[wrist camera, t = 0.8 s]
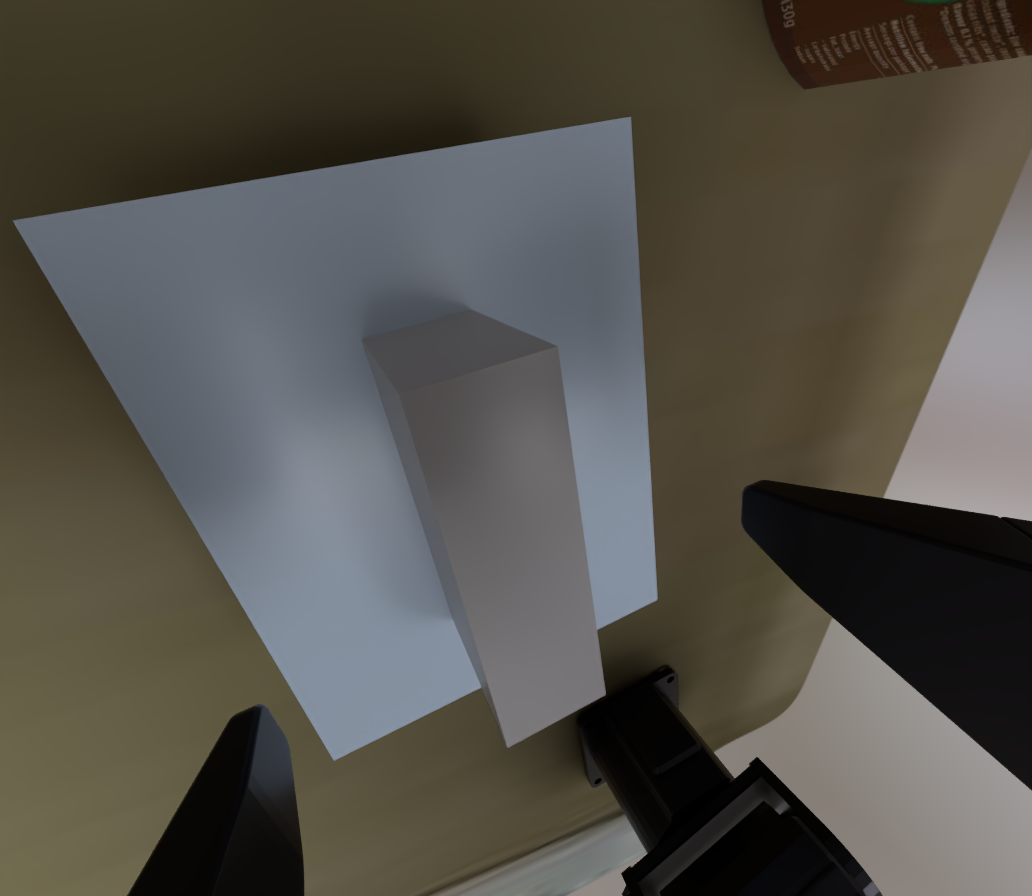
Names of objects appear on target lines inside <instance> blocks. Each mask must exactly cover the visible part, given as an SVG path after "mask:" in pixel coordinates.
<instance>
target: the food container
mask: <svg viewBox="0 0 1032 896" xmlns="http://www.w3.org/2000/svg"><path fill="white" fill-rule="evenodd" d="M762 3H763V8H764V14H765V18H766V22H767V25H768V28H769V32H770V35H771V38H772V41H773V43H774V46H775V48H776V50H777V52H778V54H779V57H780V59H781V61H782V62H783V64H784V65H785V67H786V68H787V70H788V71H789V73H790V74H791V76H792V77H793V78H794V79H795V80H796V81H797V82H798V83H799V84H800V85H801V86H802V87H803V88H804V89H810V88H817V87H824V86H830V85H837V84H844V83H850V82H857V81H864V80H870V79H877V78H884V77H890V76H897V75H904V74H910V73H917V72H924V71H930V70H937V69H944V68H950V67H957V66H964V65H970V64H977V63H984V62H990V61H997V60H1004V59H1010V58H1017V57H1024V56H1030V55H1032V0H762Z"/></svg>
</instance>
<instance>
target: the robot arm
mask: <svg viewBox="0 0 1032 896" xmlns="http://www.w3.org/2000/svg"><path fill="white" fill-rule="evenodd" d="M741 523H742V526H743V528H744V530H745V531H746V533H747V534H748V535H749V536H750V537H751V538H752V539H753V540H754V541H755V542H756V543H757V544H758V545H759V546H760V547H761V549H762V550H763V551H764V552H765V553H766V554H767V555H768V556H769V557H770V558H771V559H772V560H773V561H774V562H775V563H776V564H777V565H778V566H779V567H780V568H781V569H782V570H783V571H784V572H785V573H786V575H787V576H788V577H789V578H790V579H791V580H792V581H793V582H794V583H795V584H796V585H797V586H798V587H799V588H800V589H801V590H802V591H803V592H805V593H806V594H807V595H808V596H809V597H810V598H811V599H812V600H813V601H815V602H816V603H817V604H818V605H819V606H820V607H821V608H823V609H824V610H825V611H826V612H827V613H828V614H829V615H831V616H832V617H833V618H834V619H835V620H836V621H838V622H839V623H840V624H841V625H842V626H843V627H844V628H846V629H847V630H848V631H849V632H850V633H851V634H853V635H854V636H855V637H856V638H857V639H858V640H859V641H861V642H862V643H863V644H864V645H865V646H866V647H867V648H869V649H870V650H871V651H872V652H873V653H874V654H876V655H877V656H878V657H879V658H880V659H881V660H882V661H884V662H885V663H886V664H887V665H888V666H889V667H890V668H892V669H893V670H894V671H895V672H896V673H897V674H898V675H900V676H901V677H902V678H903V679H904V680H905V681H907V682H908V683H909V684H910V685H911V686H912V687H914V688H915V689H916V690H917V691H918V692H919V693H920V694H921V695H923V696H924V697H925V698H926V699H927V700H928V701H929V702H931V703H932V704H933V705H934V706H935V707H936V708H938V709H939V710H940V711H941V712H942V713H943V714H944V715H946V716H947V717H948V718H949V719H950V720H951V721H953V722H954V723H955V724H956V725H957V726H958V727H959V728H960V729H962V730H963V731H964V732H965V733H966V734H968V735H969V736H970V737H971V738H972V739H973V740H974V741H976V742H977V743H978V744H979V745H980V746H981V747H983V749H985V750H986V751H987V752H988V753H989V754H990V755H992V756H993V757H994V758H995V759H996V760H997V761H999V762H1000V763H1001V764H1002V765H1003V766H1004V767H1005V768H1007V769H1008V770H1009V771H1010V772H1011V773H1012V774H1013V775H1015V776H1016V777H1017V778H1018V779H1019V780H1020V781H1021V782H1023V783H1024V784H1025V785H1026V786H1027V787H1028V788H1029V789H1031V790H1032V521H1027V520H1020V519H1014V518H1008V517H1001V518H999V517H998V516H994V515H988V514H981V513H975V512H968V511H962V510H956V509H948V508H943V507H936V506H930V505H923V504H917V503H910V502H904V501H897V500H890V499H885V498H878V497H872V496H865V495H859V494H853V493H846V492H840V491H833V490H827V489H820V488H814V487H808V486H801V485H795V484H788V483H782V482H775V481H769V480H760V481H757V482H755V483H753V484H751V485H748V486H746V487H745V488H744V490H743V492H742V508H741ZM577 727H578V732H579V737H580V743H581V748H582V753H583V758H584V764H585V769H586V774H587V779H588V781H589V783H590V785H591V787H593V788H594V787H597V786H599V785H601V784H603V783H604V782H606V783H607V784H608V786H609V788H610V789H611V791H612V793H613V795H614V796H615V798H616V800H617V802H618V803H619V805H620V807H621V808H622V810H623V812H624V814H625V815H626V817H627V819H628V821H629V822H630V824H631V826H632V827H633V829H634V831H635V833H636V834H637V836H638V838H639V840H640V841H641V843H642V845H643V847H644V848H645V850H646V852H647V853H648V854H647V855H646V856H644V857H643V858H642V859H641V860H640V861H639V862H637V863H636V864H635V865H634V866H633V867H631V866H629V867H628V868H627V869H626V870H625V871H624V872H622V873H621V874H622V876H623V879H624V881H625V883H626V887H625V889H624V891H623V893H622V895H623V896H882V894H881V892H880V891H879V889H878V888H877V886H876V885H875V884H874V882H873V881H872V880H871V878H870V877H869V876H868V874H867V873H866V872H865V870H864V869H863V868H862V867H861V865H860V864H859V863H858V862H857V861H856V859H855V858H854V857H853V856H852V855H851V853H850V852H849V851H848V850H847V849H846V848H845V846H844V845H843V844H842V843H841V842H840V841H839V840H838V839H837V838H836V836H835V835H834V834H833V833H832V832H831V831H830V830H829V829H828V828H827V827H826V826H825V825H824V824H823V823H822V822H821V821H820V820H819V819H818V818H817V817H816V816H815V815H814V814H813V813H812V812H811V811H810V810H809V809H808V808H807V807H806V806H805V805H804V804H803V803H802V802H801V801H800V800H799V799H798V798H797V797H796V796H795V795H794V794H793V793H792V791H790V790H789V788H787V786H786V785H785V784H784V783H782V781H781V780H780V779H779V778H778V777H777V776H776V775H775V774H774V773H773V772H772V771H771V770H770V769H769V768H768V767H767V766H766V765H765V764H764V763H763V762H762V761H761V760H760V759H759V758H758V757H756V758H755V759H754V760H753V761H752V762H751V763H749V765H750V766H749V767H748V768H747V769H746V770H745V771H743V772H742V773H741V774H740V775H739V776H738V777H736V778H734V777H733V776H732V774H731V773H730V772H729V771H728V770H727V768H726V767H725V766H724V765H723V764H722V762H721V761H720V760H719V758H718V757H717V756H716V755H715V754H714V752H713V751H712V750H711V749H710V747H709V746H708V745H707V744H706V743H705V741H704V740H703V739H702V738H701V736H700V735H699V734H698V733H697V732H696V730H695V729H694V728H693V727H692V725H691V724H690V723H689V722H688V721H687V719H686V718H685V717H684V716H683V714H682V713H681V712H680V711H679V703H678V675H677V673H676V672H675V671H674V670H673V669H672V668H666V669H664V670H663V671H661V672H659V673H657V674H655V675H653V676H652V677H650V678H648V679H646V680H644V681H642V682H641V683H639V684H637V685H635V686H633V687H631V688H630V689H628V690H626V691H624V692H622V693H621V694H619V695H617V696H615V697H613V698H611V699H610V700H608V701H606V702H604V703H602V704H600V705H599V706H597V707H595V708H593V709H591V710H589V711H588V712H586V713H584V714H583V715H581V716H580V717H579V718H578V720H577ZM127 896H304V864H303V852H302V842H301V834H300V826H299V818H298V810H297V802H296V794H295V787H294V779H293V771H292V763H291V755H290V749H289V744H288V741H287V739H286V736H285V735H284V733H283V731H282V730H281V728H280V727H279V725H278V724H277V722H276V720H275V719H274V717H273V716H272V714H271V713H270V711H269V710H268V708H267V707H266V706H265V705H263V704H258V705H255V706H253V707H251V708H248V709H246V710H244V711H242V712H239V713H237V714H235V715H234V716H233V717H232V718H231V719H230V720H229V722H228V723H227V725H226V727H225V728H224V730H223V732H222V734H221V735H220V737H219V739H218V740H217V742H216V744H215V746H214V747H213V749H212V751H211V752H210V754H209V756H208V758H207V759H206V761H205V763H204V765H203V766H202V768H201V770H200V771H199V773H198V775H197V777H196V778H195V780H194V782H193V783H192V785H191V787H190V789H189V790H188V792H187V794H186V795H185V797H184V799H183V801H182V802H181V804H180V806H179V807H178V809H177V811H176V813H175V814H174V816H173V818H172V819H171V821H170V823H169V825H168V826H167V828H166V830H165V832H164V833H163V835H162V837H161V838H160V840H159V842H158V844H157V845H156V847H155V849H154V850H153V852H152V854H151V856H150V857H149V859H148V861H147V862H146V864H145V866H144V868H143V869H142V871H141V873H140V874H139V876H138V878H137V880H136V881H135V883H134V885H133V887H132V888H131V890H130V892H129V893H128V895H127Z"/></svg>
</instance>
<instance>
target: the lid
mask: <svg viewBox="0 0 1032 896" xmlns="http://www.w3.org/2000/svg"><path fill="white" fill-rule="evenodd" d="M13 222H14V224H15V226H16V228H17V229H18V231H19V233H20V234H21V236H22V238H23V239H24V241H25V243H26V244H27V246H28V248H29V249H30V251H31V253H32V254H33V256H34V258H35V259H36V261H37V263H38V264H39V266H40V268H41V270H42V271H43V273H44V275H45V276H46V278H47V280H48V281H49V283H50V285H51V286H52V288H53V290H54V291H55V293H56V295H57V296H58V298H59V300H60V301H61V303H62V305H63V306H64V308H65V310H66V311H67V313H68V315H69V317H70V318H71V320H72V322H73V323H74V325H75V327H76V328H77V330H78V332H79V333H80V335H81V337H82V338H83V340H84V342H85V343H86V345H87V347H88V348H89V350H90V352H91V353H92V355H93V357H94V359H95V360H96V362H97V364H98V365H99V367H100V369H101V370H102V372H103V374H104V375H105V377H106V379H107V380H108V382H109V384H110V385H111V387H112V389H113V390H114V392H115V394H116V395H117V397H118V399H119V401H120V402H121V404H122V406H123V407H124V409H125V411H126V412H127V414H128V416H129V417H130V419H131V421H132V422H133V424H134V426H135V427H136V429H137V431H138V432H139V434H140V436H141V437H142V439H143V441H144V443H145V444H146V446H147V448H148V449H149V451H150V453H151V454H152V456H153V458H154V459H155V461H156V463H157V464H158V466H159V468H160V469H161V471H162V473H163V474H164V476H165V478H166V479H167V481H168V483H169V485H170V486H171V488H172V490H173V491H174V493H175V495H176V496H177V498H178V500H179V501H180V503H181V505H182V506H183V508H184V510H185V511H186V513H187V515H188V516H189V518H190V520H191V521H192V523H193V525H194V527H195V528H196V530H197V532H198V533H199V535H200V537H201V538H202V540H203V542H204V543H205V545H206V547H207V548H208V550H209V552H210V553H211V555H212V557H213V558H214V560H215V562H216V563H217V565H218V567H219V569H220V570H221V572H222V574H223V575H224V577H225V579H226V580H227V582H228V584H229V585H230V587H231V589H232V590H233V592H234V594H235V595H236V597H237V599H238V600H239V602H240V604H241V605H242V607H243V609H244V610H245V612H246V614H247V616H248V617H249V619H250V621H251V622H252V624H253V626H254V627H255V629H256V631H257V632H258V634H259V636H260V637H261V639H262V641H263V642H264V644H265V646H266V647H267V649H268V651H269V652H270V654H271V656H272V658H273V659H274V661H275V663H276V664H277V666H278V668H279V669H280V671H281V673H282V674H283V676H284V678H285V679H286V681H287V683H288V684H289V686H290V688H291V689H292V691H293V693H294V694H295V696H296V698H297V700H298V701H299V703H300V705H301V706H302V708H303V710H304V711H305V713H306V715H307V716H308V718H309V720H310V721H311V723H312V725H313V726H314V728H315V730H316V731H317V733H318V735H319V736H320V738H321V740H322V742H323V743H324V745H325V747H326V748H327V750H328V752H329V753H330V755H331V757H332V758H333V760H334V761H335V760H337V759H339V758H341V757H343V756H345V755H347V754H349V753H351V752H353V751H355V750H357V749H359V748H361V747H363V746H365V745H367V744H369V743H371V742H373V741H375V740H377V739H379V738H381V737H383V736H385V735H387V734H389V733H391V732H393V731H395V730H397V729H399V728H401V727H403V726H405V725H407V724H409V723H411V722H413V721H415V720H417V719H419V718H421V717H423V716H425V715H427V714H429V713H431V712H433V711H435V710H437V709H439V708H441V707H443V706H445V705H447V704H449V703H451V702H453V701H455V700H457V699H459V698H461V697H463V696H465V695H467V694H469V693H471V692H473V691H475V690H477V689H479V688H481V687H482V689H483V692H484V694H485V696H486V699H487V701H488V703H489V706H490V708H491V711H492V713H493V715H494V718H495V720H496V722H497V725H498V727H499V729H500V732H501V734H502V736H503V739H504V741H505V743H506V746H507V748H509V747H511V746H512V745H514V744H516V743H518V742H520V741H522V740H524V739H525V738H527V737H529V736H531V735H533V734H535V733H536V732H538V731H540V730H542V729H544V728H546V727H548V726H549V725H551V724H553V723H555V722H557V721H559V720H560V719H562V718H564V717H566V716H568V715H570V714H571V713H573V712H575V711H577V710H579V709H581V708H583V707H584V706H586V705H588V704H590V703H592V702H594V701H595V700H597V699H599V698H601V697H603V696H605V695H606V691H605V684H604V677H603V669H602V662H601V655H600V648H599V641H598V633H597V630H598V629H600V628H602V627H604V626H606V625H608V624H610V623H612V622H614V621H616V620H618V619H620V618H622V617H624V616H626V615H628V614H630V613H632V612H634V611H636V610H638V609H640V608H642V607H644V606H646V605H648V604H650V603H652V602H654V601H656V600H658V599H657V581H656V563H655V545H654V526H653V508H652V490H651V472H650V454H649V436H648V417H647V399H646V381H645V363H644V345H643V327H642V309H641V290H640V272H639V254H638V236H637V218H636V200H635V182H634V163H633V145H632V127H631V117H626V118H620V119H614V120H608V121H602V122H596V123H590V124H584V125H579V126H573V127H567V128H561V129H555V130H549V131H543V132H537V133H531V134H525V135H519V136H513V137H507V138H501V139H495V140H489V141H483V142H477V143H471V144H465V145H459V146H453V147H448V148H442V149H436V150H430V151H424V152H418V153H412V154H406V155H400V156H394V157H388V158H382V159H376V160H370V161H364V162H358V163H352V164H346V165H340V166H334V167H328V168H323V169H317V170H311V171H305V172H299V173H293V174H287V175H281V176H275V177H269V178H263V179H257V180H251V181H245V182H239V183H233V184H227V185H221V186H215V187H209V188H203V189H197V190H192V191H186V192H180V193H174V194H168V195H162V196H156V197H150V198H144V199H138V200H132V201H126V202H120V203H114V204H108V205H102V206H96V207H90V208H84V209H78V210H72V211H66V212H61V213H55V214H49V215H43V216H37V217H31V218H25V219H19V220H13Z"/></svg>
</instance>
